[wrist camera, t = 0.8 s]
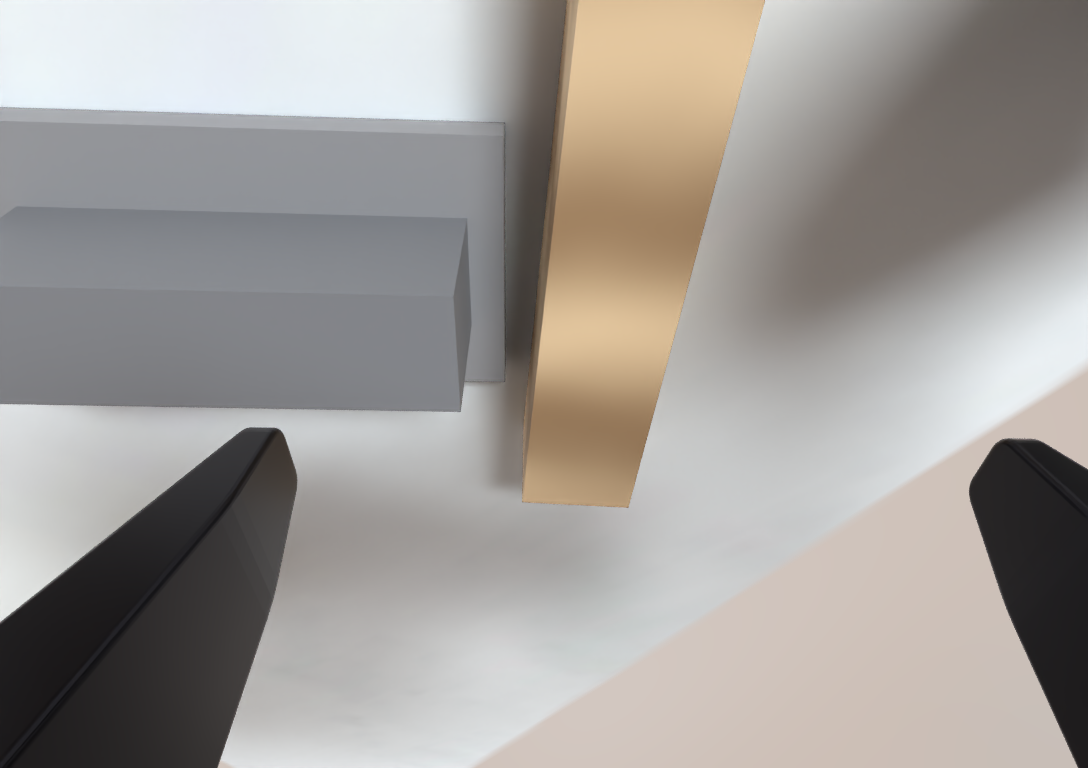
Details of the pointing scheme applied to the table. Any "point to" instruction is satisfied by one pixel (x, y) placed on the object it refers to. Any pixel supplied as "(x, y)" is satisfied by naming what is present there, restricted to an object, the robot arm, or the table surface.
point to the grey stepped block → (249, 260)
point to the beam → (623, 228)
